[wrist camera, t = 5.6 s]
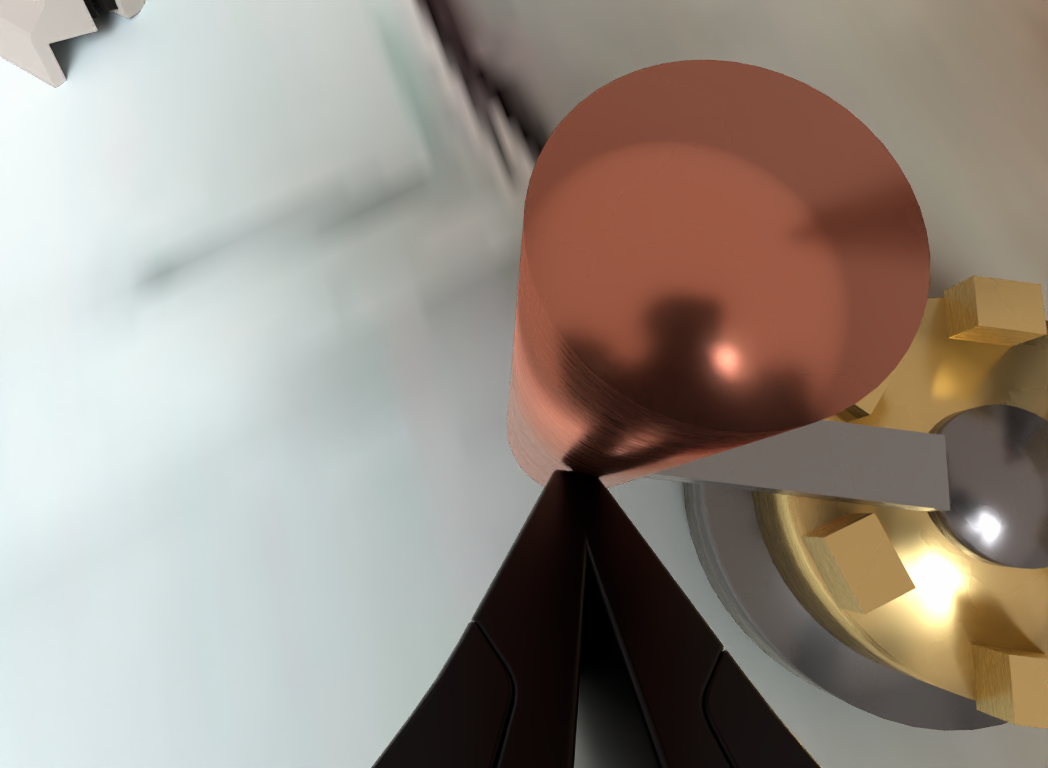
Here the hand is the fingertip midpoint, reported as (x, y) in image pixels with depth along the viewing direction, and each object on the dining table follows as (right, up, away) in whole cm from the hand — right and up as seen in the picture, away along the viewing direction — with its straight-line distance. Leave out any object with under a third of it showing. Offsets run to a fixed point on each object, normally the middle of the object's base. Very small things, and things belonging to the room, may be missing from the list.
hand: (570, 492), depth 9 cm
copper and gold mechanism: (+8, -1, +8) cm, 11 cm away
